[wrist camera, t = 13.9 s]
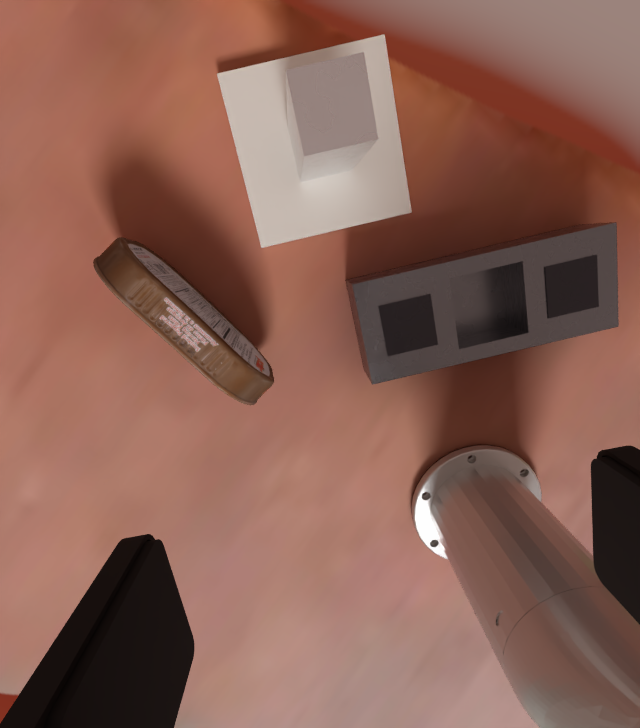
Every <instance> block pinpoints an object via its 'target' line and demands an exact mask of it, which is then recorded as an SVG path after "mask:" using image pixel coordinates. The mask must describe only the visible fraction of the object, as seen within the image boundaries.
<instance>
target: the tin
mask: <svg viewBox="0 0 640 728" xmlns="http://www.w3.org/2000/svg"><path fill="white" fill-rule="evenodd" d="M93 263H94V268H95V270H96V272H97V274H98V275H99V277H100V278H101V280H102V281H103V282H104V283H105V285H106V286H107V287H108V288H109V289H110V290H111V292H113V294H114V295H115V296H116V297H117V298H118V299H119V300H120V301H121V302H122V303H124V304H125V305H126V306H127V307H128V308H129V309H130V310H131V311H132V312H134V313H135V314H136V315H137V316H138V317H139V318H140V319H141V320H142V321H144V322H145V323H146V324H147V325H148V326H149V327H150V328H151V329H152V330H154V331H155V332H156V333H157V334H158V335H159V336H160V337H161V338H163V339H164V340H165V341H166V342H167V343H168V344H169V345H170V346H171V347H173V348H174V349H175V350H176V351H177V352H178V353H179V354H180V355H182V356H183V357H184V358H185V359H186V360H187V361H188V362H189V363H190V364H191V365H193V366H194V367H195V368H196V369H197V370H198V371H199V372H200V373H201V374H202V375H203V376H205V377H206V378H207V379H208V380H209V381H210V382H211V383H213V384H214V385H215V386H216V387H217V388H219V389H220V390H221V391H223V392H224V393H226V394H227V395H228V396H230V397H232V398H234V399H235V400H237V401H239V402H241V403H243V404H247V405H254V404H255V403H256V402H257V400H258V399H259V398H260V397H261V396H262V395H263V394H264V393H265V392H266V391H267V390H268V389H269V388H270V387H271V386H272V384H273V383H274V377H273V372H272V368H271V366H270V365H269V363H268V362H267V360H266V359H265V358H264V356H263V355H262V354H261V353H260V352H259V351H258V349H257V348H256V347H255V346H254V345H253V344H252V343H251V342H250V341H249V340H248V339H247V338H246V337H245V336H244V335H243V334H242V333H241V332H240V331H239V330H238V329H237V328H236V327H235V326H234V325H233V324H232V323H231V322H230V321H229V320H228V319H227V318H226V317H225V316H224V315H223V314H222V313H221V312H220V311H219V310H218V309H217V308H216V307H214V306H213V305H212V304H211V303H210V302H209V301H208V300H207V299H206V298H205V297H204V296H203V295H202V294H201V293H200V292H199V291H198V290H197V289H195V288H194V287H193V286H192V285H191V284H190V283H189V282H188V281H187V280H186V279H185V278H184V277H183V276H182V275H181V274H179V273H178V272H177V271H176V270H175V269H174V268H173V267H171V266H170V265H169V264H168V263H167V262H166V261H164V260H163V259H162V258H161V257H159V256H158V255H157V254H156V253H154V252H153V251H151V250H150V249H149V248H147V247H146V246H144V245H142V244H141V243H138V242H136V241H132V240H128V239H126V238H117V239H116V240H115V241H114V242H113V243H112V244H111V245H110V246H109V247H108V248H107V249H106V250H105V251H104V252H103V253H102V254H101V255H100V256H99V257H96V258H95V259H94V262H93Z"/></svg>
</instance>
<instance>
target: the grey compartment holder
mask: <svg viewBox="0 0 640 728" xmlns="http://www.w3.org/2000/svg"><path fill="white" fill-rule="evenodd" d="M346 285H347V290H348V295H349V299H350V304H351V309H352V314H353V319H354V324H355V329H356V334H357V339H358V343H359V348H360V353H361V358H362V363H363V368H364V371H365V373H366V374H367V376H368V378H369V380H370V381H371V383H372V384H377V383H381V382H385V381H389V380H393V379H398V378H402V377H406V376H410V375H415V374H419V373H423V372H427V371H432V370H436V369H440V368H444V367H449V366H453V365H457V364H461V363H466V362H470V361H474V360H478V359H483V358H487V357H491V356H495V355H500V354H504V353H508V352H512V351H517V350H521V349H525V348H529V347H534V346H538V345H542V344H546V343H550V342H555V341H559V340H563V339H567V338H572V337H576V336H580V335H584V334H589V333H593V332H597V331H601V330H606V329H610V328H614V327H618V277H617V226H616V222H615V223H598V224H582V225H577V226H573V227H568V228H564V229H560V230H556V231H551V232H547V233H543V234H539V235H534V236H530V237H526V238H522V239H517V240H513V241H509V242H505V243H500V244H496V245H492V246H488V247H483V248H479V249H475V250H471V251H466V252H462V253H458V254H454V255H449V256H445V257H441V258H437V259H432V260H428V261H424V262H420V263H415V264H411V265H407V266H403V267H399V268H394V269H390V270H386V271H382V272H377V273H373V274H369V275H365V276H360V277H356V278H352V279H348V280H346Z"/></svg>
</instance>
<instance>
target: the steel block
mask: <svg viewBox="0 0 640 728" xmlns="http://www.w3.org/2000/svg"><path fill="white" fill-rule="evenodd" d="M286 98H287V125H288V129H289V134H290V139H291V143H292V148H293V152H294V157H295V161H296V166H297V170H298V175H299V179H300V182H304V181H308V180H313V179H317V178H321V177H325V176H330V175H334V174H338V173H342V172H347V171H351V170H353V169H354V167H355V166H356V165H357V164H358V163H359V161H360V160H361V159H362V158H363V157H364V156H365V154H366V153H367V152H368V151H369V150H370V148H371V147H372V146H373V145H374V144H375V143H376V141H377V140H378V134H377V128H376V121H375V115H374V109H373V103H372V97H371V91H370V85H369V79H368V73H367V67H366V61H365V55H364V52H361V53H357V54H352V55H348V56H344V57H339V58H335V59H331V60H327V61H322V62H318V63H314V64H310V65H305V66H301V67H297V68H293V69H288V70H286Z"/></svg>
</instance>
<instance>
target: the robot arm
mask: <svg viewBox="0 0 640 728" xmlns="http://www.w3.org/2000/svg"><path fill="white" fill-rule="evenodd" d="M591 487H592V524H593V555H592V554H591V553H590V552H589V551H588V550H587V549H586V548H585V547H584V546H583V545H582V544H581V543H580V542H579V541H578V540H577V539H576V538H575V537H574V536H573V535H572V534H571V533H570V532H569V531H568V530H567V529H566V528H565V526H564V525H563V524H562V523H561V522H560V521H559V520H558V519H557V518H556V517H555V516H554V515H553V514H552V513H551V512H550V511H549V510H548V509H547V508H546V507H545V506H544V505H543V504H542V503H541V500H542V492H541V487H540V483H539V481H538V478H537V476H536V474H535V472H534V471H533V470H532V469H531V467H530V466H529V465H528V464H527V463H526V462H525V461H524V460H523V459H522V458H521V457H519V456H518V455H516V454H514V453H513V452H511V451H509V450H506V449H504V448H501V447H496V446H490V445H479V446H471V447H466V448H462V449H460V450H457V451H454V452H452V453H450V454H448V455H446V456H445V457H443V458H441V459H440V460H439V461H437V462H436V463H435V464H434V465H432V466H431V467H430V468H429V469H428V471H427V472H426V473H425V474H424V475H423V477H422V478H421V480H420V482H419V483H418V485H417V487H416V490H415V493H414V495H413V500H412V507H411V509H412V519H413V522H414V525H415V528H416V530H417V533H418V535H419V537H420V539H421V540H422V541H423V543H424V544H425V545H426V546H427V547H428V548H429V549H430V550H431V551H433V552H434V553H435V554H437V555H439V556H441V557H443V558H446V559H448V560H449V562H450V564H451V566H452V568H453V570H454V572H455V574H456V576H457V578H458V580H459V582H460V584H461V586H462V588H463V590H464V592H465V594H466V596H467V598H468V600H469V602H470V604H471V606H472V608H473V610H474V612H475V614H476V616H477V618H478V620H479V622H480V624H481V626H482V628H483V630H484V632H485V634H486V636H487V638H488V640H489V642H490V644H491V647H492V649H493V651H494V653H495V655H496V657H497V659H498V661H499V663H500V665H501V667H502V669H503V671H504V673H505V675H506V677H507V678H508V680H509V682H510V684H511V686H512V688H513V690H514V692H515V694H516V696H517V698H518V700H519V701H520V703H521V705H522V706H523V708H524V709H525V711H526V712H527V713H528V715H529V716H530V717H531V719H532V720H533V721H534V722H535V723H536V724H537V725H538V726H539V727H540V728H640V450H639V449H637V448H635V447H633V446H623V447H617V448H612V449H606V450H602V451H600V452H599V453H598V455H597V459H594V460H593V461H592V463H591ZM193 656H194V639H193V635H192V632H191V629H190V626H189V623H188V619H187V616H186V613H185V610H184V607H183V604H182V601H181V598H180V595H179V592H178V588H177V585H176V582H175V579H174V576H173V573H172V570H171V567H170V564H169V560H168V557H167V554H166V551H165V548H164V545H163V543H162V541H161V540H159V539H158V540H155V539H154V537H153V536H152V535H150V534H146V535H141V536H135V537H130V538H125V539H122V540H121V541H120V542H119V543H118V544H117V546H116V548H115V549H114V551H113V552H112V554H111V555H110V557H109V558H108V560H107V561H106V563H105V564H104V566H103V567H102V569H101V570H100V572H99V574H98V575H97V577H96V578H95V580H94V581H93V583H92V584H91V586H90V587H89V589H88V590H87V592H86V593H85V595H84V596H83V598H82V600H81V601H80V603H79V604H78V606H77V607H76V609H75V610H74V612H73V613H72V615H71V616H70V618H69V619H68V621H67V622H66V624H65V626H64V627H63V629H62V630H61V632H60V633H59V635H58V636H57V638H56V639H55V641H54V642H53V644H52V645H51V647H50V648H49V650H48V652H47V653H46V655H45V656H44V658H43V659H42V661H41V662H40V664H39V665H38V667H37V668H36V670H35V671H34V673H33V675H32V676H31V678H30V679H29V681H28V682H27V684H26V685H25V687H24V688H23V690H22V691H21V693H20V694H19V696H18V698H17V699H16V701H15V702H14V704H13V705H12V707H11V708H10V710H9V711H8V713H7V714H6V716H5V717H4V719H3V720H2V722H1V723H0V728H174V725H175V722H176V718H177V714H178V711H179V707H180V704H181V700H182V696H183V693H184V689H185V686H186V682H187V679H188V675H189V671H190V668H191V664H192V661H193Z"/></svg>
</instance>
